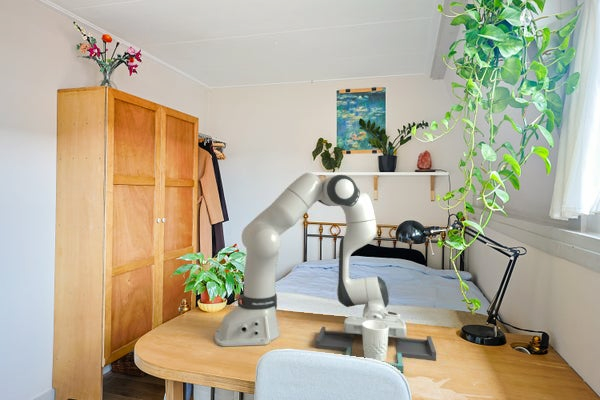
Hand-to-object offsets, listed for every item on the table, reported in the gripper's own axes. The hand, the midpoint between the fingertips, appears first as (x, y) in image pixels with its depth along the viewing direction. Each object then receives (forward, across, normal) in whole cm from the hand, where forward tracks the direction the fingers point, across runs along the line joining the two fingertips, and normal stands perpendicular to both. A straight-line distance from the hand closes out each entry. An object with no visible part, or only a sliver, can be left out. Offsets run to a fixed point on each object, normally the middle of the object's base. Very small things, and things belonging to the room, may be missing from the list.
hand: (374, 336), depth 113 cm
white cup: (+4, 0, +5) cm, 6 cm away
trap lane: (-5, 0, +5) cm, 7 cm away
